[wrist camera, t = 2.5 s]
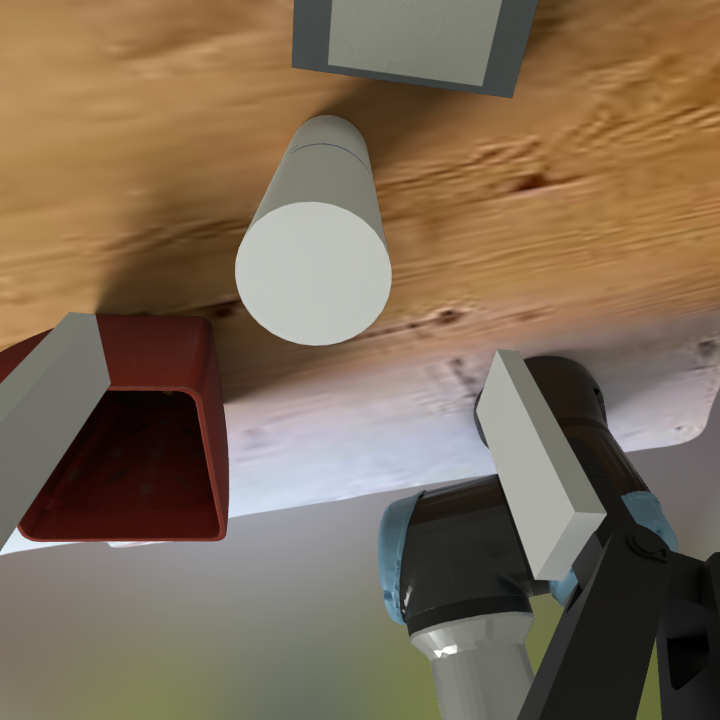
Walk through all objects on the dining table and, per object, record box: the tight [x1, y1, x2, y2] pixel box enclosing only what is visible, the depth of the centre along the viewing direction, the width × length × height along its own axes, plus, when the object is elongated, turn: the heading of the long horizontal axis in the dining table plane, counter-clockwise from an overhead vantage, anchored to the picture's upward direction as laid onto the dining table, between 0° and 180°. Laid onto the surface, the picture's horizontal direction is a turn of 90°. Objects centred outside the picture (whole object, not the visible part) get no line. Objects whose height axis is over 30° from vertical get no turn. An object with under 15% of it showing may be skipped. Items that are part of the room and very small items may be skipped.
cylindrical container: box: [235, 115, 391, 346], centre depth 32 cm, size 7×7×25 cm
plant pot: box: [0, 314, 229, 542], centre depth 47 cm, size 19×19×17 cm
